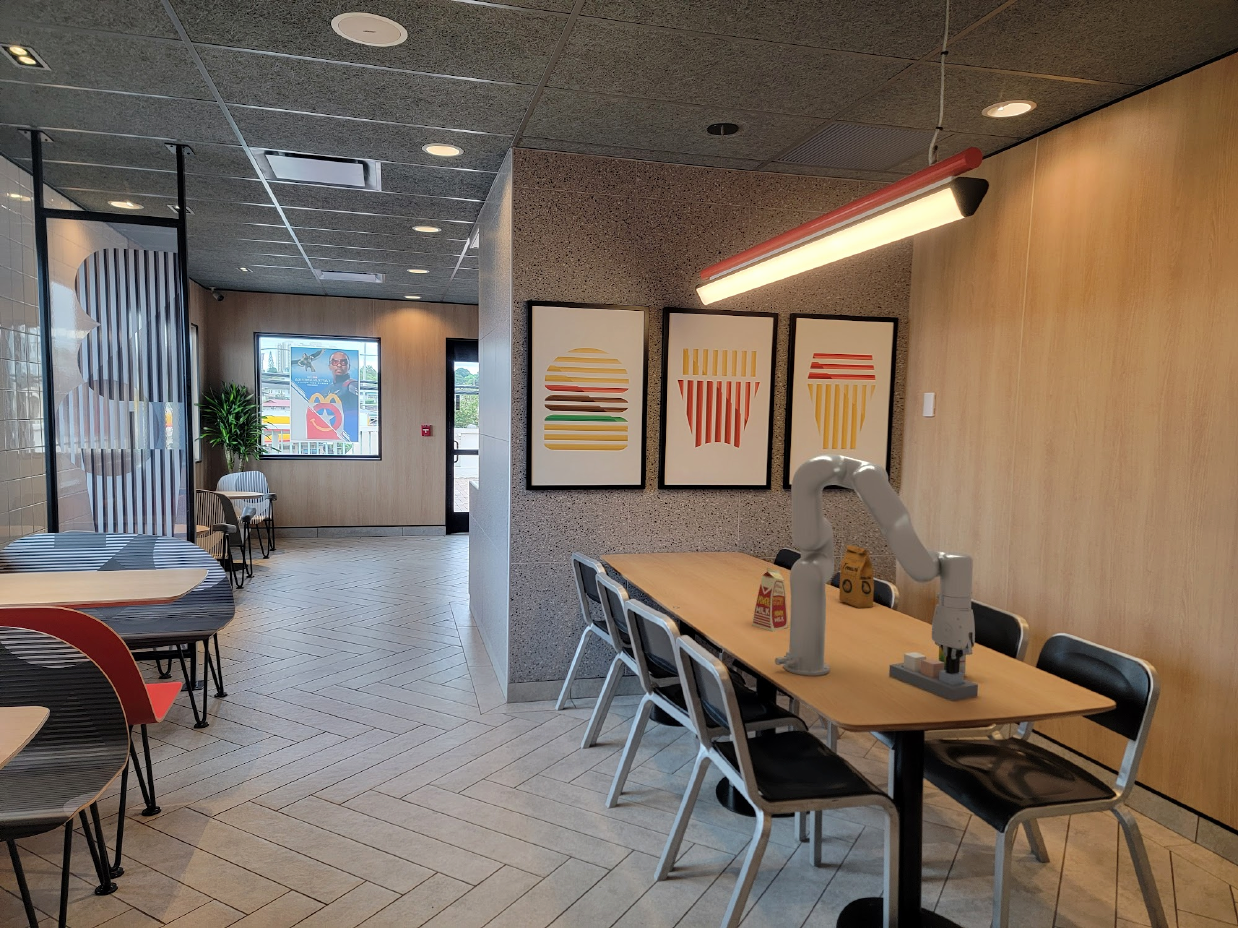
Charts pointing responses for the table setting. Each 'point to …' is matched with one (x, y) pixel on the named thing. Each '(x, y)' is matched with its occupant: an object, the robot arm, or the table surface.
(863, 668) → the table surface
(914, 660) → the ivory key
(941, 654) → the crayon box
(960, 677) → the slate key
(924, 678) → the panel
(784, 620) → the milk carton
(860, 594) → the coffee package
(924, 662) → the terracotta key
